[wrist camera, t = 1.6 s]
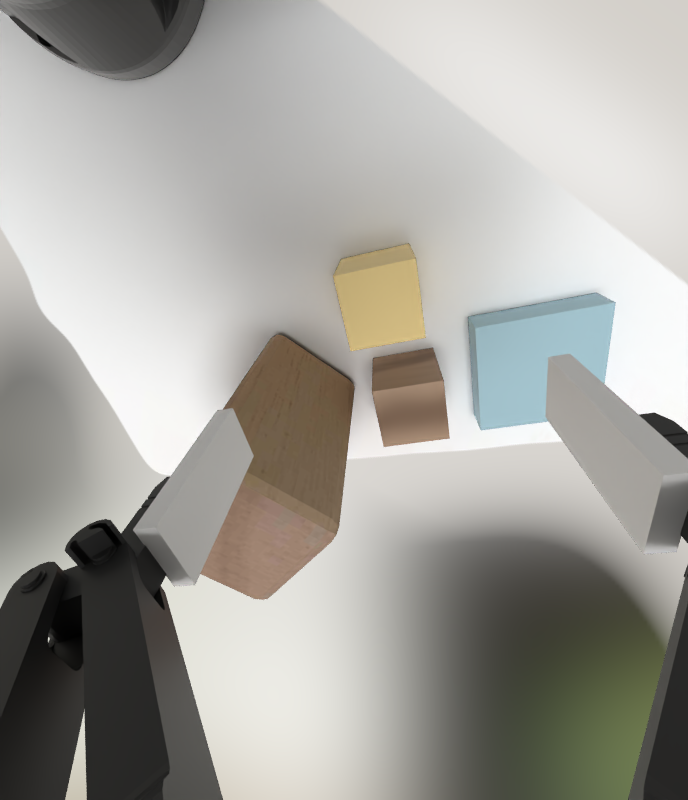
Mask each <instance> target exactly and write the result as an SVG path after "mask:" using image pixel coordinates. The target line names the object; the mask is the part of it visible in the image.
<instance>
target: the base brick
mask: <svg viewBox="0 0 688 800" xmlns="http://www.w3.org/2000/svg"><path fill="white" fill-rule="evenodd" d="M614 310H615V302H614V301H612V300H610V299H608V298H606V297H604V296H602V295H600V294H598V293H593V294H588V295H583V296H577V297H572V298H567V299H561V300H556V301H551V302H545V303H540V304H535V305H529V306H524V307H518V308H513V309H508V310H502V311H497V312H492V313H486V314H481V315H476V316H470V317H468V323H469V339H470V355H471V371H472V387H473V403H474V415H475V417H476V420H477V422H478V425H479V427H480V430H487V429H494V428H502V427H510V426H517V425H525V424H532V423H540V422H547V421H548V420H547V418H546V417H545V414H546V394H547V373H548V357H551V356H558V355H564V354H571V355H572V356H573V357H574V358H576V359H577V360H578V361H579V362H580V363H581V364H582V365H583V366H585V367H586V368H587V369H588V370H589V371H590V372H591V373H592V374H593V375H595V376H596V377H597V378H598V379H599V380H600V381H601V382H602V383H605V376H606V368H607V361H608V354H609V346H610V339H611V332H612V324H613V317H614Z"/></svg>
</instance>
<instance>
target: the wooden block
mask: <svg viewBox="0 0 688 800" xmlns="http://www.w3.org/2000/svg"><path fill="white" fill-rule="evenodd" d="M354 389H355V387H354V385H353V384H352V382H351V381H350V380H349V379H347V378H346V377H344V376H343V375H341V374H340V373H338V372H337V371H335V370H334V369H332V368H331V367H329V366H328V365H326V364H325V363H324V362H322V361H321V360H319V359H318V358H316V357H315V356H313V355H312V354H310V353H309V352H307V351H306V350H304V349H303V348H301V347H300V346H298V345H297V344H295V343H294V342H292V341H291V340H289V339H288V338H286V337H285V336H282V335H276V336H274V337H273V338H271V339H270V340H269V342H268V343H267V345H266V346H265V348H264V349H263V351H262V352H261V354H260V355H259V357H258V358H257V360H256V361H255V363H254V364H253V366H252V367H251V368H250V370H249V371H248V373H247V374H246V376H245V377H244V379H243V380H242V382H241V383H240V385H239V386H238V388H237V389H236V391H235V392H234V394H233V395H232V397H231V398H230V400H229V401H228V402H227V404H226V405H225V407H224V408H223V409H230V408H233V410H234V412H235V414H236V416H237V419H238V421H239V423H240V426H241V428H242V430H243V432H244V435H245V437H246V439H247V442H248V444H249V446H250V448H251V451H252V453H253V455H254V457H253V459H252V461H251V463H250V465H249V468H248V470H247V472H246V474H245V476H244V479H243V481H242V483H241V485H240V487H239V490H238V492H237V494H236V496H235V498H234V501H233V503H232V505H231V507H230V509H229V511H228V514H227V516H226V518H225V520H224V522H223V525H222V527H221V529H220V531H219V533H218V536H217V538H216V540H215V542H214V544H213V547H212V549H211V551H210V553H209V555H208V558H207V560H206V562H205V564H204V566H203V569H202V571H201V573H200V574H202V575H204V576H206V577H209V578H210V579H213V580H215V581H217V582H219V583H221V584H223V585H226V586H228V587H230V588H232V589H235V590H237V591H239V592H241V593H243V594H245V595H247V596H250V597H252V598H254V599H268V598H269V597H270V596H271V595H272V594H273V593H275V592H276V591H277V590H278V589H279V588H280V587H281V586H282V585H284V584H285V583H286V582H287V581H288V580H289V579H290V578H291V577H293V576H294V575H295V574H296V573H297V572H298V571H299V570H301V569H302V568H303V567H304V566H305V565H306V564H307V563H308V562H309V561H311V560H312V559H313V558H314V557H315V556H316V555H317V554H318V553H320V552H321V551H322V550H323V549H324V548H325V547H326V546H327V545H328V544H330V543H331V542H332V540H333V539H334V537H335V536H336V534H337V531H338V528H339V522H340V513H341V505H342V496H343V486H344V477H345V469H346V460H347V451H348V442H349V433H350V424H351V416H352V407H353V398H354Z"/></svg>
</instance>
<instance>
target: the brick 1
mask: <svg viewBox="0 0 688 800" xmlns="http://www.w3.org/2000/svg"><path fill="white" fill-rule="evenodd" d="M333 278H334V283H335V287H336V291H337V295H338V300H339V304H340V308H341V312H342V317H343V321H344V325H345V330H346V334H347V338H348V342H349V347H350V351H355V350H361V349H366V348H372V347H377V346H383V345H388V344H394V343H399V342H405V341H410V340H416V339H422V338H426V336H425V328H424V320H423V311H422V303H421V295H420V287H419V279H418V271H417V263H416V257H415V255H414V253H413V251H412V249H411V247H410V245H409V244H405V245H400V246H396V247H392V248H387V249H383V250H378V251H374V252H370V253H365V254H361V255H357V256H352V257H348V258H343V259H341V261H340V263H339V265H338V267H337V269H336V271H335V273H334V275H333Z"/></svg>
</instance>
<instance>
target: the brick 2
mask: <svg viewBox="0 0 688 800" xmlns="http://www.w3.org/2000/svg"><path fill="white" fill-rule="evenodd" d="M372 394H373V399H374V404H375V408H376V413H377V417H378V422H379V427H380V431H381V436H382V441H383V445H384V447H387V446H394V445H402V444H410V443H417V442H425V441H433V440H441V439H448V438H450V437H449V428H448V418H447V409H446V399H445V390H444V380H443V377H442V374H441V371H440V368H439V365H438V362H437V359H436V356H435V353H434V350H433V348H429V349H423V350H417V351H412V352H406V353H400V354H394V355H389V356H383V357H377V358H373V374H372Z"/></svg>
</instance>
